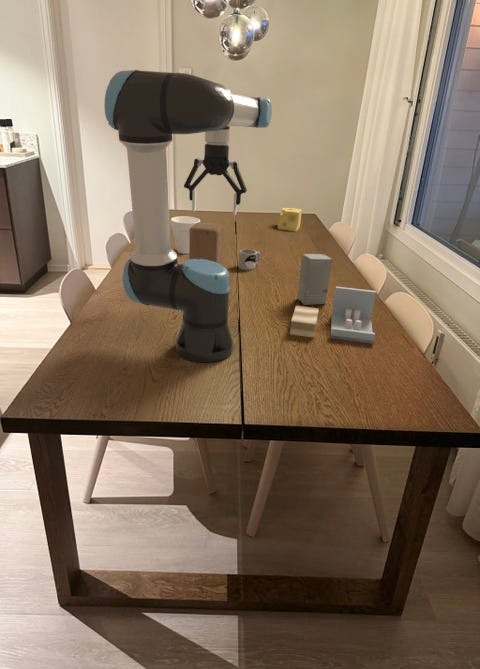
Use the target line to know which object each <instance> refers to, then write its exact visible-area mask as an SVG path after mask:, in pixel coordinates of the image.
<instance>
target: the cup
mask: <svg viewBox="0 0 480 669" xmlns="http://www.w3.org/2000/svg"><path fill="white" fill-rule="evenodd" d="M198 222H201V220H200V218H198V217H194V216H188V215H187V216H185V215H184V216H182V215H181V216H174V217H171V218H170V228H171V230H172V234H173V238H174V243H175V247H176V248H175V249H176V250H177V251H176V253H179V254H183V255H189V238H190V228H191V227H192V226H193V225H195V224H196V223H198Z"/></svg>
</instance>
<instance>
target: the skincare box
mask: <svg viewBox="0 0 480 669" xmlns="http://www.w3.org/2000/svg"><path fill="white" fill-rule="evenodd" d="M332 262H333V259H332V258H331V257H329V256H327V255H326V254H324V253H323V254H322V253H321V254H320V253H319V254H317V253H303V254H302V256H301V264H300V266H301V267H300V273H299V279H298V280H299V281H298V287H297V295H296V296H297V297H296V299H298V301H300V302H301V303H302V305H304V306H310V305H312V306H313V305H325V304H326V301H327V295H328V289H329V282H330V275H331V270H332Z"/></svg>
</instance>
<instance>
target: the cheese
mask: <svg viewBox="0 0 480 669" xmlns="http://www.w3.org/2000/svg"><path fill="white" fill-rule="evenodd" d="M302 212H303V210H302V209H301V208H293V207H282V208H281V210H280V214H279V216H278V223H277V230H280V231H281V230H283V231H289V232H295V233H296V232H297V231H298V230H299V229H300V228H301V227H300V226H301V221H302Z"/></svg>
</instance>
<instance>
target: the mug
mask: <svg viewBox="0 0 480 669" xmlns="http://www.w3.org/2000/svg"><path fill="white" fill-rule="evenodd" d="M238 253H239V256H238V269H240V270H242V271H254V270H255V269H256V265H258V264H260V262H261V252H260V251H256V250H255V249H249V248H243V249H240V250H239V252H238Z"/></svg>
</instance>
